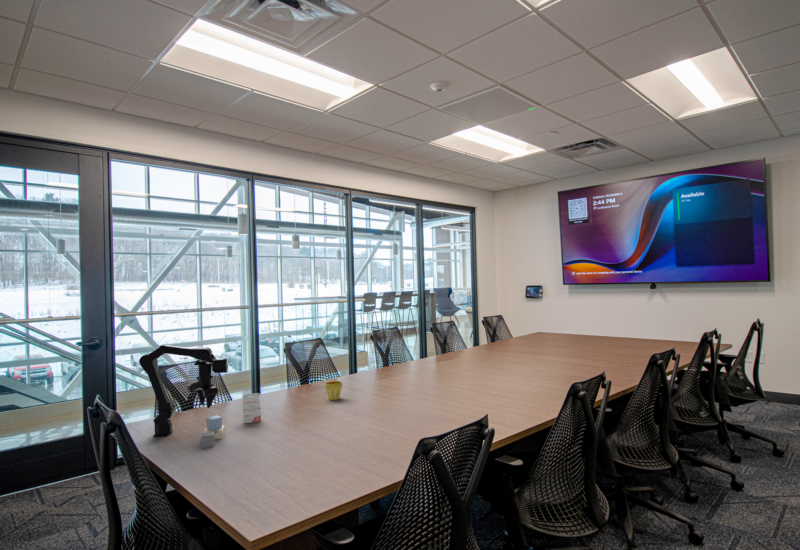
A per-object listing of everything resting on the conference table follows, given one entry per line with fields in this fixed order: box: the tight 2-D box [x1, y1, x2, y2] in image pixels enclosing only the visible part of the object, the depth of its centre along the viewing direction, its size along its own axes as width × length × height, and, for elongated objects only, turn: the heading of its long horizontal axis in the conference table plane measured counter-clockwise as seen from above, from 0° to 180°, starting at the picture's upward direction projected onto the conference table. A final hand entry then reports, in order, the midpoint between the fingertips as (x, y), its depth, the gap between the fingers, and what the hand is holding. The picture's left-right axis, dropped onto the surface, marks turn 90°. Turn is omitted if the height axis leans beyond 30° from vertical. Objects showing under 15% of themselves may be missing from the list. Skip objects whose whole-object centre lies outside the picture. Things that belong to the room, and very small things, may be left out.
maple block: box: [202, 424, 226, 440], centre depth 207 cm, size 8×8×4 cm
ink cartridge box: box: [242, 392, 262, 424], centre depth 229 cm, size 9×5×15 cm, turn 105°
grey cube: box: [200, 431, 216, 448], centre depth 196 cm, size 5×5×5 cm
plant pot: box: [324, 380, 343, 401], centre depth 270 cm, size 10×10×10 cm
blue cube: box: [206, 415, 223, 431], centre depth 208 cm, size 5×5×5 cm
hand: (205, 406), depth 217 cm, fingers open, 9 cm apart
